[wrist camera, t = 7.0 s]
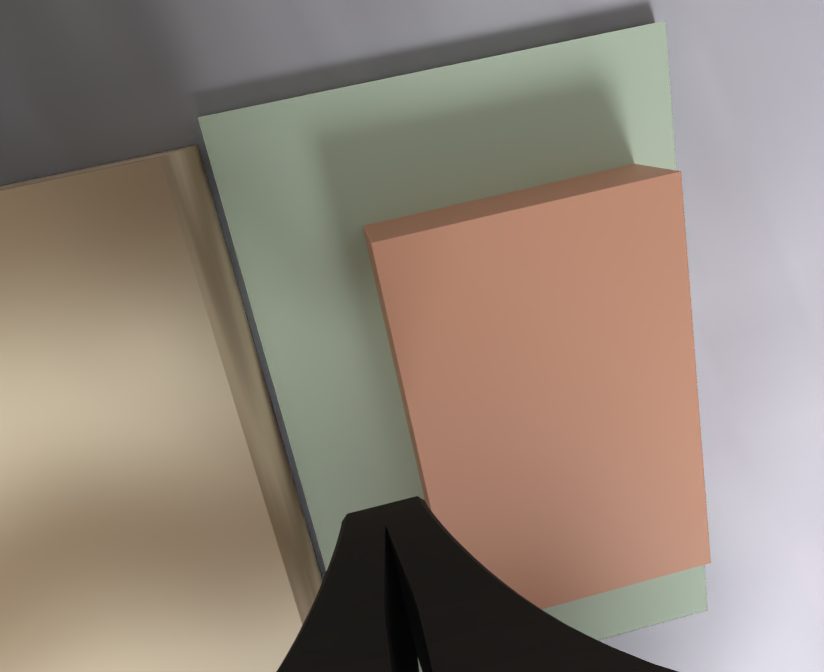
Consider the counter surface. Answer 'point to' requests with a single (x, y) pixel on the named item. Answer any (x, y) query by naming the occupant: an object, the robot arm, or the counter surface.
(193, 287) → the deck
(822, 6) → the counter surface
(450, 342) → the tile
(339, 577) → the robot arm
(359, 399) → the mat
